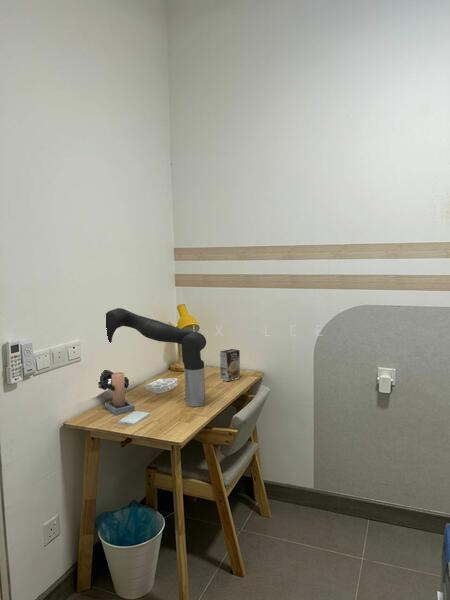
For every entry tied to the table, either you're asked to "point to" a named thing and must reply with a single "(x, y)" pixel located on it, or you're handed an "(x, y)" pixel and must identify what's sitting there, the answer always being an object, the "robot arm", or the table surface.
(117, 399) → the pink rounded cylinder
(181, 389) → the table surface
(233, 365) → the coffee box
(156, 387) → the white brass knuckles
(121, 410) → the slate dish
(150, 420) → the table surface
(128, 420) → the hard drive
